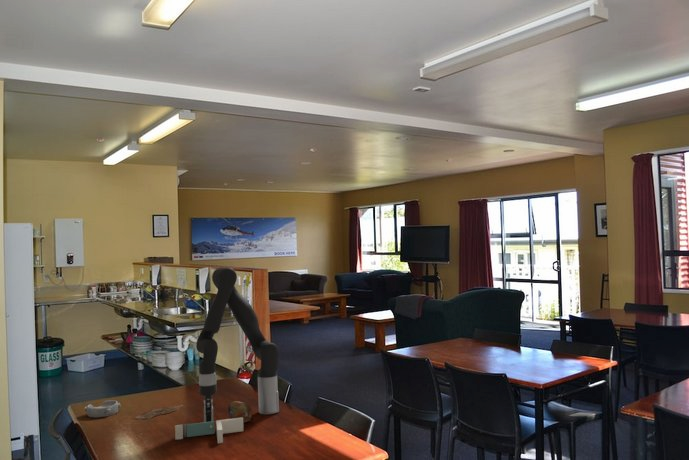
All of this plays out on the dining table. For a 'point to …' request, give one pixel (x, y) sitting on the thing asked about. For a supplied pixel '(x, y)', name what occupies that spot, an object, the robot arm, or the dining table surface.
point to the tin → (240, 410)
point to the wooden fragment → (158, 412)
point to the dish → (103, 409)
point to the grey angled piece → (217, 428)
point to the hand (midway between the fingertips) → (208, 421)
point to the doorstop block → (211, 415)
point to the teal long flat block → (199, 429)
